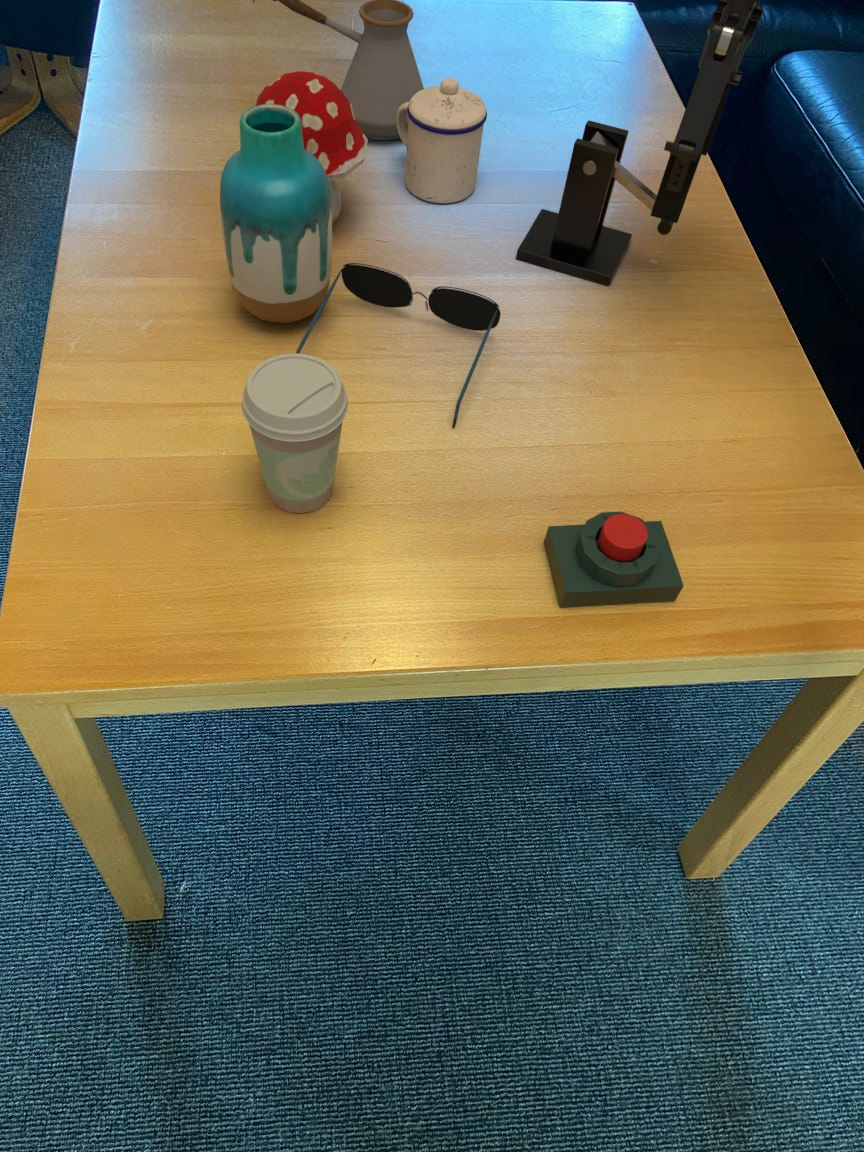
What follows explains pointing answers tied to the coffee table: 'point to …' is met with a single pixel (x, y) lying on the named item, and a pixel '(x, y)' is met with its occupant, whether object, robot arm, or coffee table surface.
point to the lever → (634, 185)
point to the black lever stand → (582, 214)
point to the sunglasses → (398, 293)
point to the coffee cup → (296, 427)
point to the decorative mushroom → (322, 124)
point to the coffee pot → (376, 64)
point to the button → (622, 537)
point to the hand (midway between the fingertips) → (679, 183)
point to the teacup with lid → (442, 141)
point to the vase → (276, 218)
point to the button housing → (609, 567)
